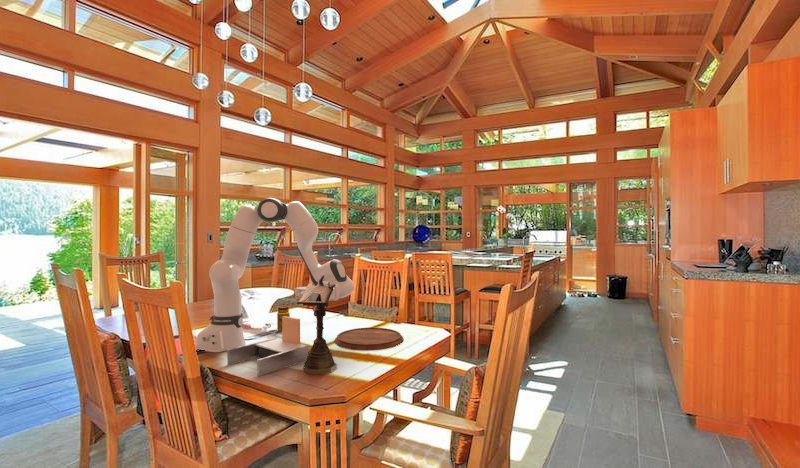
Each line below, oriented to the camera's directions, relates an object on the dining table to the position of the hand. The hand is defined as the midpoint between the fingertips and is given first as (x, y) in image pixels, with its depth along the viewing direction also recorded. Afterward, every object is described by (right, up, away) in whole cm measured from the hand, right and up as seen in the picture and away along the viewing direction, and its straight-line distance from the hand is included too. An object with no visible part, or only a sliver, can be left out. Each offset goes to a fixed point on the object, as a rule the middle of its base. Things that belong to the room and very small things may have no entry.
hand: (300, 295), depth 169 cm
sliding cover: (-6, -19, -7) cm, 22 cm away
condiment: (-18, -24, +37) cm, 48 cm away
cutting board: (+28, -24, +19) cm, 41 cm away
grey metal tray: (-9, -24, -12) cm, 29 cm away
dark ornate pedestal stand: (+13, -24, -23) cm, 36 cm away
